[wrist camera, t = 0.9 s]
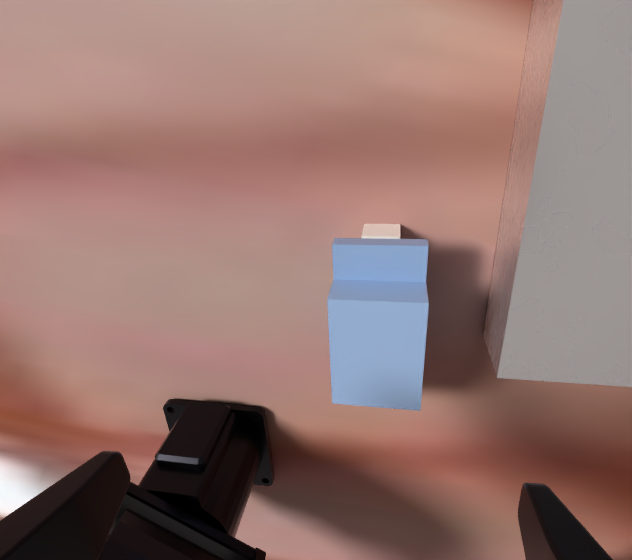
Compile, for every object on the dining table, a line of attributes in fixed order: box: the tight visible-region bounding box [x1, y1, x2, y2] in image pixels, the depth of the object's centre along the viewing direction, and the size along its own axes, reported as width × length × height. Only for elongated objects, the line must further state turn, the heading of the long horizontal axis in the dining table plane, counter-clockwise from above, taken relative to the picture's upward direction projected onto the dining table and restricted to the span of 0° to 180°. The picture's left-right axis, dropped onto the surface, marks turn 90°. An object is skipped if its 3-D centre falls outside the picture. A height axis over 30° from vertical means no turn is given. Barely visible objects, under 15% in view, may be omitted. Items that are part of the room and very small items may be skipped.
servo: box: [327, 224, 429, 411], centre depth 18 cm, size 8×4×5 cm, turn 3°
